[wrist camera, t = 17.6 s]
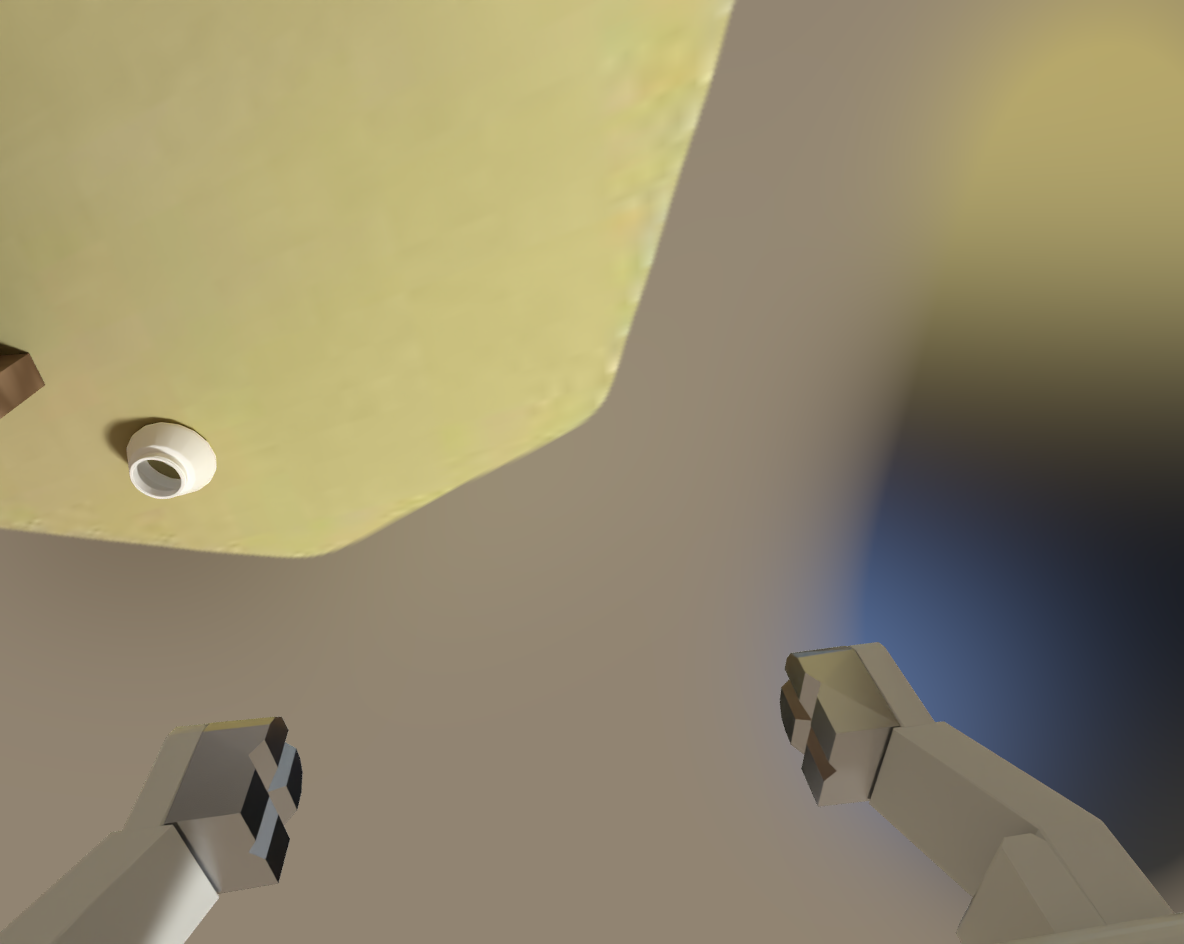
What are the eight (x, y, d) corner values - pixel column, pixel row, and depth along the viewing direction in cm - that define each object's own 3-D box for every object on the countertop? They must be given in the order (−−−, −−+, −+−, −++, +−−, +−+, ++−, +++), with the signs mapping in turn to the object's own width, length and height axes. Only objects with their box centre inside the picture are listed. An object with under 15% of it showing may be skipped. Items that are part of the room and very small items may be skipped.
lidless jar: (220, 490, 46) (215, 425, 43) (204, 516, 43) (199, 448, 41) (137, 482, 44) (128, 414, 42) (116, 507, 42) (105, 437, 39)
